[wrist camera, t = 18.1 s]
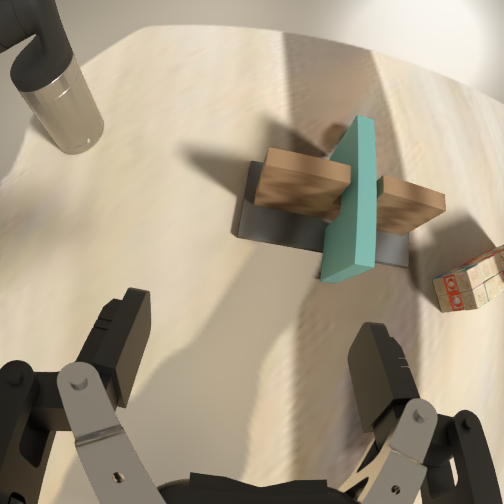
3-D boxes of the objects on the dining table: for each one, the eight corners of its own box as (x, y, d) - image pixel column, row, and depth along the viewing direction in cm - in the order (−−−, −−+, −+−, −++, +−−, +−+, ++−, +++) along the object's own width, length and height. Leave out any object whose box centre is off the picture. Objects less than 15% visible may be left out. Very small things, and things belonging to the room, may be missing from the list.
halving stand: (237, 237, 46) (245, 202, 33) (250, 164, 49) (261, 112, 36) (404, 268, 47) (455, 248, 35) (404, 200, 50) (448, 166, 38)
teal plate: (335, 283, 44) (374, 267, 33) (320, 281, 44) (354, 264, 32) (343, 161, 49) (373, 119, 38) (329, 157, 49) (357, 114, 37)
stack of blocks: (440, 314, 46) (490, 306, 34) (430, 279, 48) (479, 264, 36) (505, 275, 50) (547, 262, 38) (496, 246, 51) (538, 230, 39)
